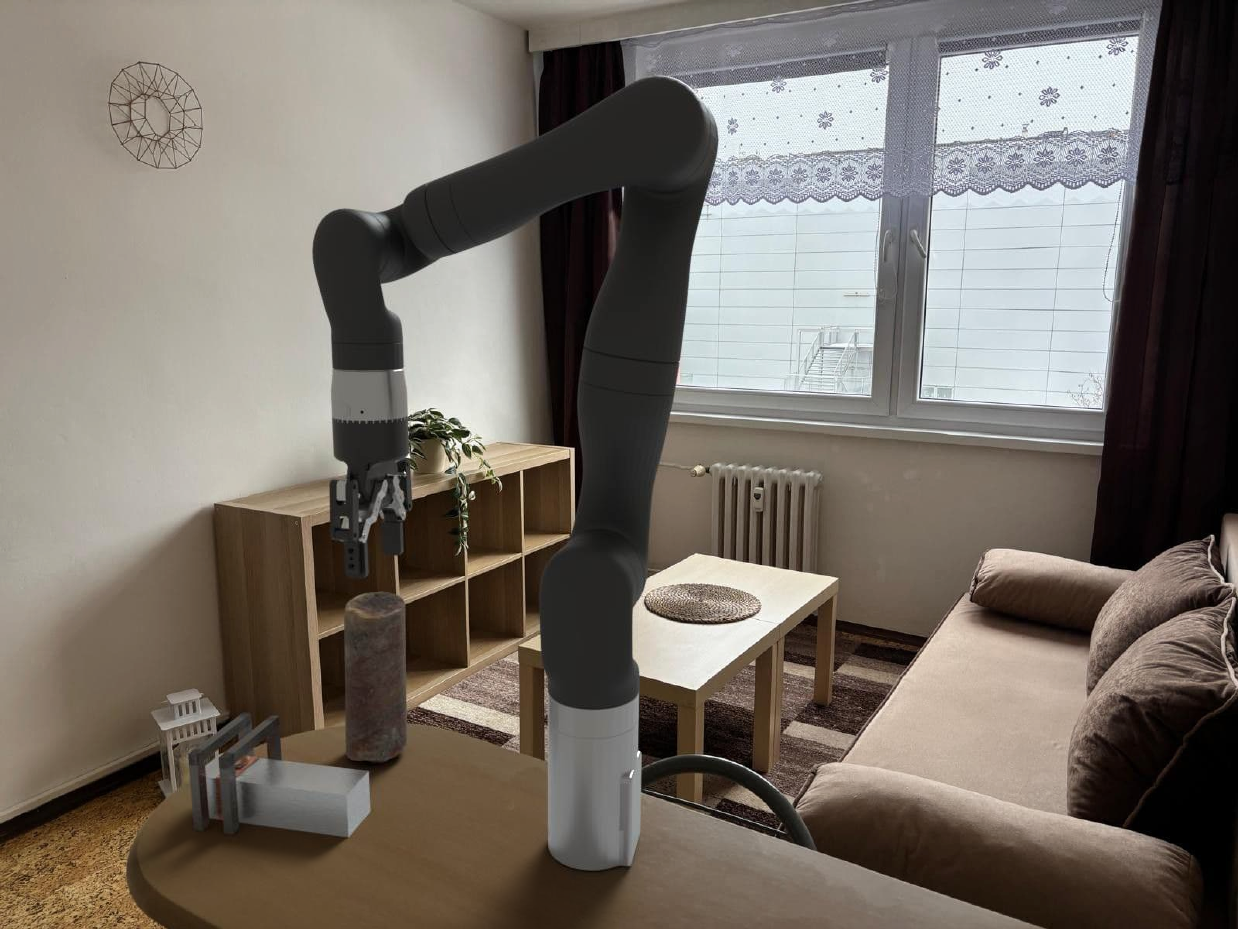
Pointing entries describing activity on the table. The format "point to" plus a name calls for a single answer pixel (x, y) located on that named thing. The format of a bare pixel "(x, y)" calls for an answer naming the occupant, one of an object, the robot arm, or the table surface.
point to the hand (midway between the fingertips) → (375, 565)
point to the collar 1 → (197, 765)
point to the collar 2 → (235, 753)
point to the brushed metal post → (294, 795)
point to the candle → (375, 677)
